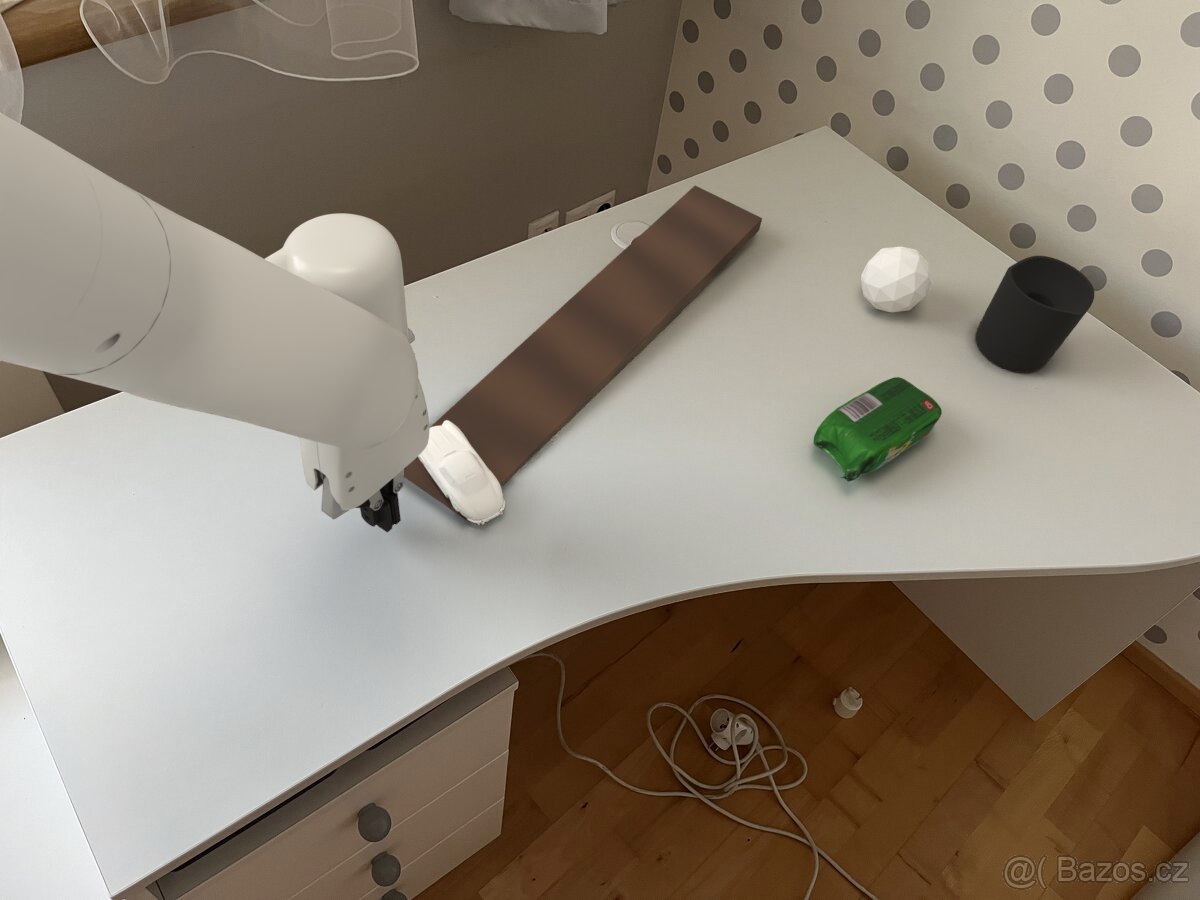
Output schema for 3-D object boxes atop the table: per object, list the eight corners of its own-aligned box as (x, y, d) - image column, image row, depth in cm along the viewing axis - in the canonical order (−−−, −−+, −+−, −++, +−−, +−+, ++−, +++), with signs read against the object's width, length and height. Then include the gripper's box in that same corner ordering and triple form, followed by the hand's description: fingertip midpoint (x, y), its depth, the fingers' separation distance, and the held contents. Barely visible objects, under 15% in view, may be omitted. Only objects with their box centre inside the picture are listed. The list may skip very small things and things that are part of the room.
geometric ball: (878, 309, 112) (918, 253, 109) (914, 333, 105) (957, 275, 103) (836, 283, 108) (876, 225, 106) (871, 307, 102) (914, 246, 99)
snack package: (792, 453, 92) (806, 420, 88) (891, 392, 99) (908, 359, 95) (843, 500, 89) (860, 468, 85) (941, 434, 96) (961, 401, 92)
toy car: (451, 426, 89) (448, 405, 86) (515, 511, 84) (514, 491, 81) (407, 448, 87) (403, 426, 85) (470, 536, 82) (468, 516, 79)
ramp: (465, 533, 84) (464, 500, 80) (387, 479, 88) (382, 444, 83) (753, 252, 116) (763, 217, 111) (688, 219, 119) (695, 184, 114)
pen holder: (1060, 380, 103) (1106, 316, 95) (980, 372, 102) (1020, 307, 95) (1038, 324, 109) (1080, 259, 101) (962, 316, 108) (999, 250, 101)
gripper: (394, 301, 71) (409, 448, 85) (242, 407, 63) (287, 550, 77) (466, 345, 69) (469, 488, 83) (318, 461, 60) (350, 599, 74)
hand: (381, 518), depth 80 cm, fingers closed
